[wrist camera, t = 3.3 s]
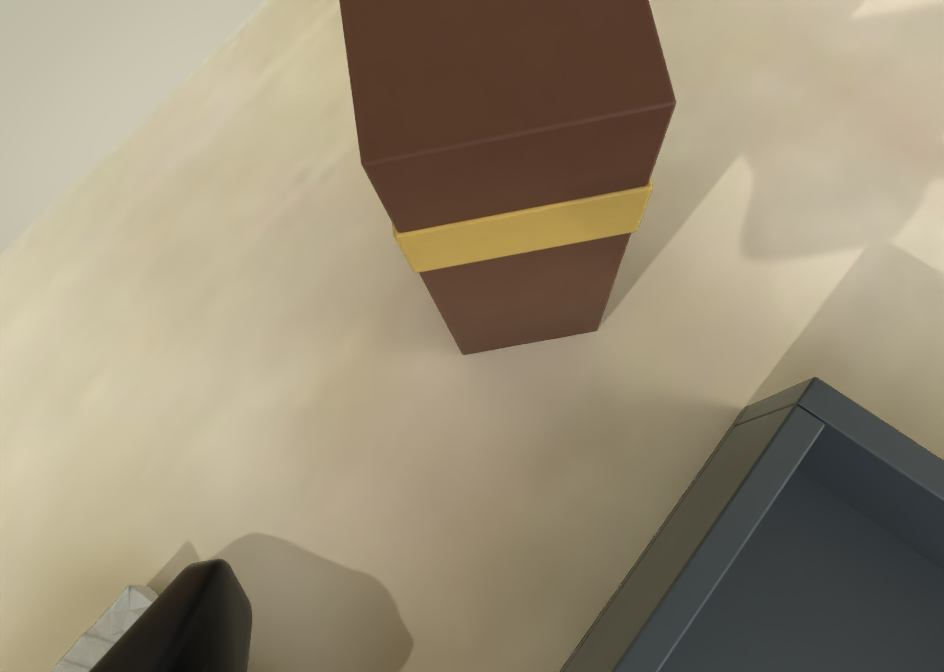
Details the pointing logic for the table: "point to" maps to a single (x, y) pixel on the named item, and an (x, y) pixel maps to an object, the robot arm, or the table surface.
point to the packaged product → (107, 630)
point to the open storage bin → (789, 553)
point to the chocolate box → (510, 151)
